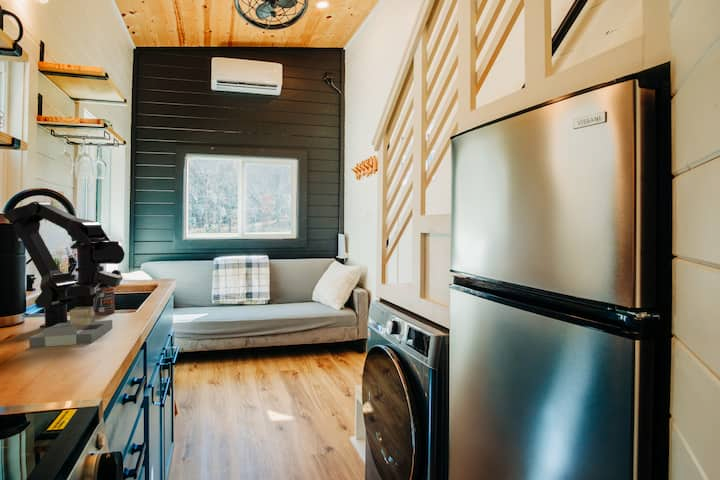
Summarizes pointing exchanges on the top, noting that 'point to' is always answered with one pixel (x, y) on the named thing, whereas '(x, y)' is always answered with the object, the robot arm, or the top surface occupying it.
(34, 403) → the top surface
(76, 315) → the maple block
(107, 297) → the supplement bottle
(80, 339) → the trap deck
